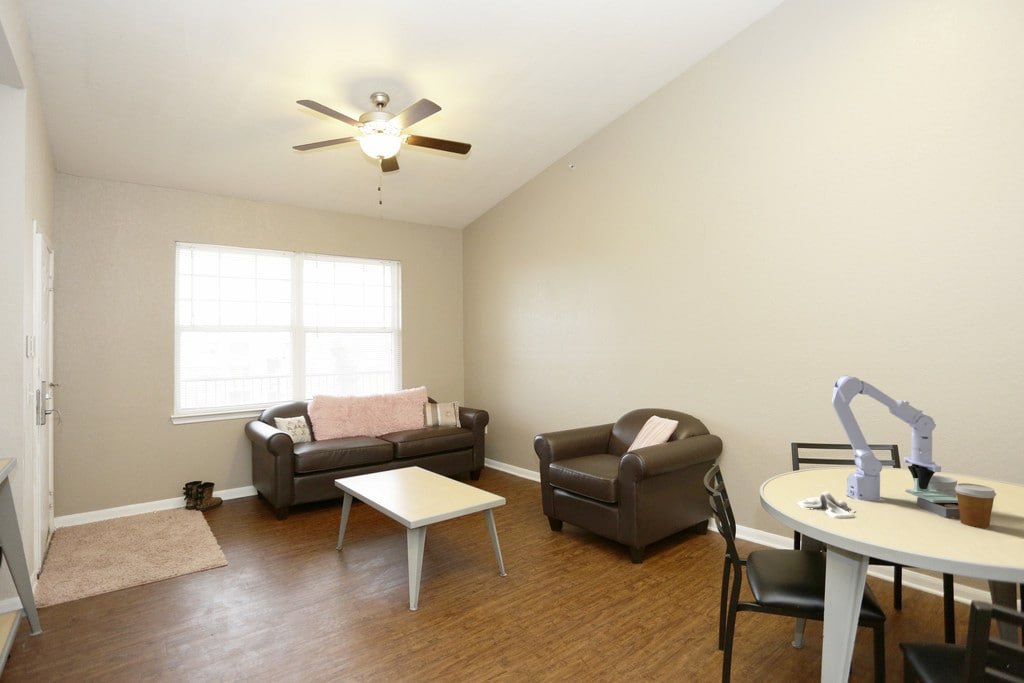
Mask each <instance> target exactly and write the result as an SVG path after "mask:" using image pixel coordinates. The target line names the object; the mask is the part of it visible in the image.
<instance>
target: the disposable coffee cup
mask: <svg viewBox="0 0 1024 683" xmlns="http://www.w3.org/2000/svg"><path fill="white" fill-rule="evenodd" d="M955 490H956V492H957V497H956V498H958V505H959V512H960V518H959V519H960V523H961V524H962V525H965V526H968V527H972V528H977V529H989V527H990V522H991V517H992V513H993V512H992V511H993V506H994V499H995V498H996V496H997V493H996V492H995V489H994V488H992V487H990V486H988V485H987V486H986V485H982V484H976V483H969V482H968V483H967V482H965V483H964V482H960V483H958V482H957V485H956V487H955Z"/></svg>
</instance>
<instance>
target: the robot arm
mask: <svg viewBox="0 0 1024 683" xmlns="http://www.w3.org/2000/svg"><path fill="white" fill-rule="evenodd" d="M859 394H860V395H863V396H864V395H866V396H869V397H870V398H872V399H874V400H875V401H877V402H879V403H880V404H882V405H884V406H886V407H888V410H889V413H890V414H891V415H893V416H895V417H896V418H898V419H900V420H902V421H903V422H905V423H906V424H908V425H909V427H911V447H910V449H911V451H910V452H911V453H910V455H911V456H903V463H907V464H910V465H908V466H907V469H908V470H909V472H910V474H911V476H912V478H913V480H914V478H918V480H919V487H920V489H927V487H928V484H929V481H930V479H931V477H932V476H933V475H934V474H936V473H942V466H941V465H938V464H936V462H935V461H933V431H934V430H935V428H936V426H937V424H936V422H935V420H934V418H933V417H931V416H929V415H927V414H924V413H923V412H924V411H923V410H922V409H917V408H915V407H914V406H912V405H911V404H910V402H909V401H907V400H903V399H893V398H892V397H891V396H889V395H887V394H886V393H884V392H883V391H881V390H879V389H878V388H877V387H875V386H874V385H872V384H870V383H868V382H866V381H864V380H860V379H859V378H858V377H857V376H851V375H847V374H846V375H841V376H839V377H838V378H837V379H836V381H835V382H834V384H833V391H832V397H831V405H832V407H833V409H834V411H835V413H836V417H837V418H838V420H839V422H840V424H841V426H842V429H843V431H844V433H845V436H846V437H847V439H848V441H849V444H850V445H851V447H852V453H853V455H854V464H855V466H856V467H857V468H856V469H855V472H853V473H849V474H848V476H847V478H846V481H847V483H846V485H847V486H846V493H845V495H846V496H847V497H850V498H852V499H854V500H855V499H856V500H859V501H883V502H884V501H886V500H887V499H884V498H882V497H881V471H883V464H882V462H881V461H880V460H879V459H878V458H877V457H876V456H875V454H874V452H873V451H872V449H871V448H870V446H869V445H868V442H867V440H866V438H865V436H864V434H863V432H862V430H861V428H860V425H859V423H858V421H857V418H855V415H854V412H853V411H852V408H851V407H850V404H851V403H852V402H851V401H852V400H853V398H855V397H856V396H857V395H859Z"/></svg>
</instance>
